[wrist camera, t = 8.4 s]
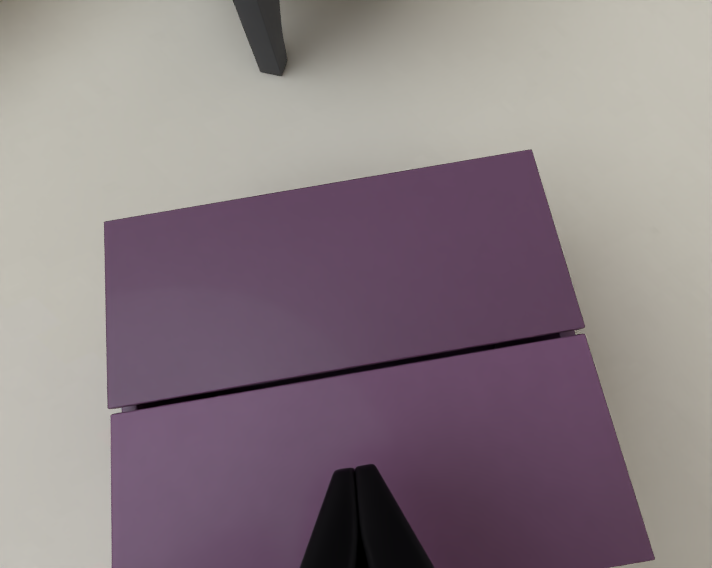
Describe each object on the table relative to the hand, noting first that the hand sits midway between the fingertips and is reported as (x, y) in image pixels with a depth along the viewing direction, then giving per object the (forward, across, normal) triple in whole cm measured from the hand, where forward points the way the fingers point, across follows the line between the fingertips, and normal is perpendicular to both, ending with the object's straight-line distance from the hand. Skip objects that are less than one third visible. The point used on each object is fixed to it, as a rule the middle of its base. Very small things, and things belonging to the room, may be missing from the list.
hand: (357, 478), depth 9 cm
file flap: (+2, 0, +3) cm, 4 cm away
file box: (+10, 0, +6) cm, 12 cm away
